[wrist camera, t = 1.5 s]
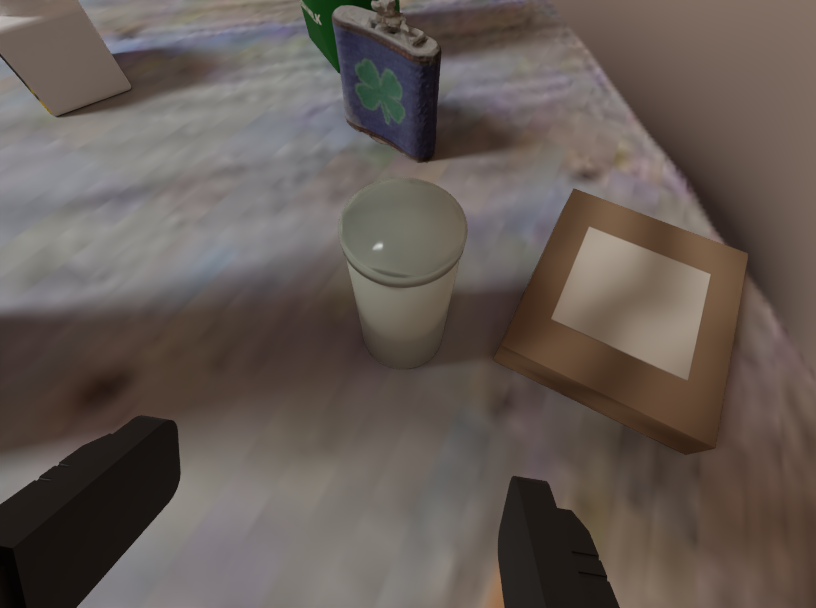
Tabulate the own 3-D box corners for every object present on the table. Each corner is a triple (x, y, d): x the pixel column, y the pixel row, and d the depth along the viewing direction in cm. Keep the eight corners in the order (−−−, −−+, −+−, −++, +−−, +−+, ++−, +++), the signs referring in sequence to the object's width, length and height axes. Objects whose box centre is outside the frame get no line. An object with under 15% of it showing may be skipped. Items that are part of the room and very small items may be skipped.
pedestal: (492, 359, 26) (501, 344, 23) (561, 211, 32) (574, 187, 29) (685, 454, 23) (716, 447, 21) (721, 273, 29) (749, 252, 27)
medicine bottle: (34, 78, 39) (-105, -88, 28) (110, 53, 41) (7, -111, 30) (54, 119, 36) (-92, -48, 25) (134, 90, 38) (30, -76, 27)
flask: (340, 122, 36) (319, -18, 27) (361, 106, 37) (348, -34, 28) (423, 168, 34) (431, 32, 24) (443, 149, 35) (459, 11, 25)
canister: (346, 346, 26) (312, 245, 16) (387, 283, 28) (379, 162, 19) (420, 385, 25) (431, 301, 15) (457, 317, 27) (487, 205, 17)
